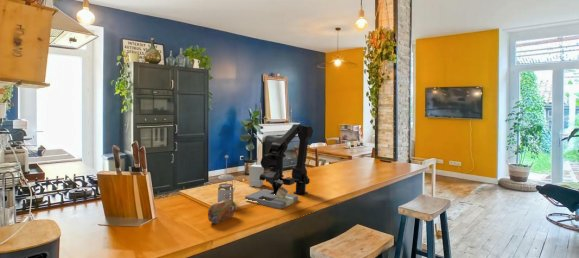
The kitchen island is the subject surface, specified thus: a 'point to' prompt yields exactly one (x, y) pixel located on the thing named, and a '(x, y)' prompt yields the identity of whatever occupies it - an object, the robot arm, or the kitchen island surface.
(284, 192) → the maple block
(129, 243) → the kitchen island surface
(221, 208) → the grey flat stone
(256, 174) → the supplement box
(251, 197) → the board
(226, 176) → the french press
